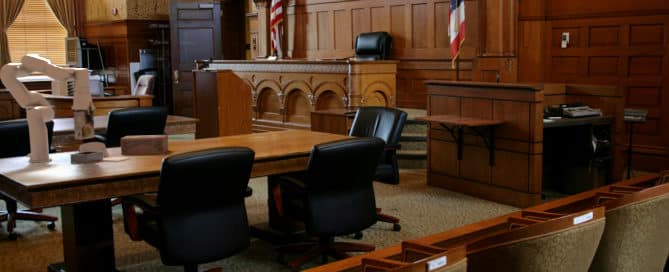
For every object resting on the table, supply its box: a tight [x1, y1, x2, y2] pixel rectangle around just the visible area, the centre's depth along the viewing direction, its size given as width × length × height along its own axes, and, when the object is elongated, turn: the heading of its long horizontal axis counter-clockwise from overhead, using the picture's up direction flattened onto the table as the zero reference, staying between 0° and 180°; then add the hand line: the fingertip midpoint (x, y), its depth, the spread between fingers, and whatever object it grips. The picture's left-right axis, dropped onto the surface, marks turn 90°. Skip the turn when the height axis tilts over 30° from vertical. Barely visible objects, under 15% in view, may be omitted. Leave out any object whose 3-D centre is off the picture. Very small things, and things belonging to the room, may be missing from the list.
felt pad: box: [99, 156, 131, 162], centre depth 407 cm, size 12×12×1 cm
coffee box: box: [73, 110, 96, 140], centre depth 400 cm, size 9×6×16 cm
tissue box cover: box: [120, 134, 169, 155], centre depth 438 cm, size 26×14×10 cm, turn 92°
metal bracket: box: [70, 151, 104, 165], centre depth 402 cm, size 11×14×5 cm
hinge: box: [78, 141, 110, 157], centre depth 421 cm, size 17×5×10 cm, turn 129°
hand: (83, 121), depth 400 cm, fingers closed on coffee box, 7 cm apart
